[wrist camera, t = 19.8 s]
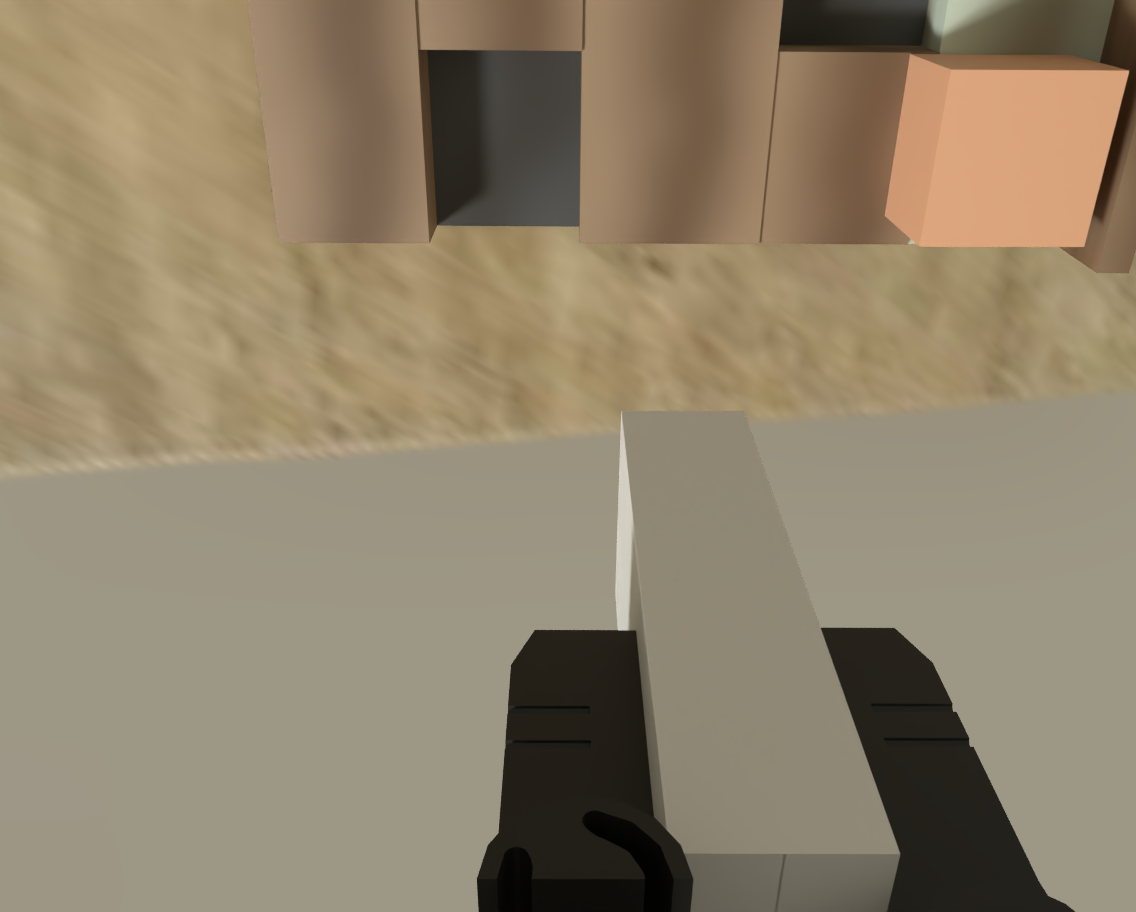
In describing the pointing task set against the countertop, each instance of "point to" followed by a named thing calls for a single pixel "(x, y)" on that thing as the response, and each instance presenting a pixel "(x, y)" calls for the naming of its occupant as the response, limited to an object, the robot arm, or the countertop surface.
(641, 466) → the robot arm
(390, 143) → the board
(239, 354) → the countertop surface
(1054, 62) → the block
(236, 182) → the countertop surface
